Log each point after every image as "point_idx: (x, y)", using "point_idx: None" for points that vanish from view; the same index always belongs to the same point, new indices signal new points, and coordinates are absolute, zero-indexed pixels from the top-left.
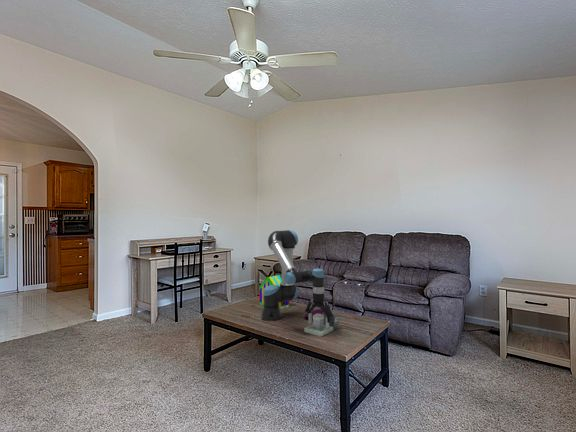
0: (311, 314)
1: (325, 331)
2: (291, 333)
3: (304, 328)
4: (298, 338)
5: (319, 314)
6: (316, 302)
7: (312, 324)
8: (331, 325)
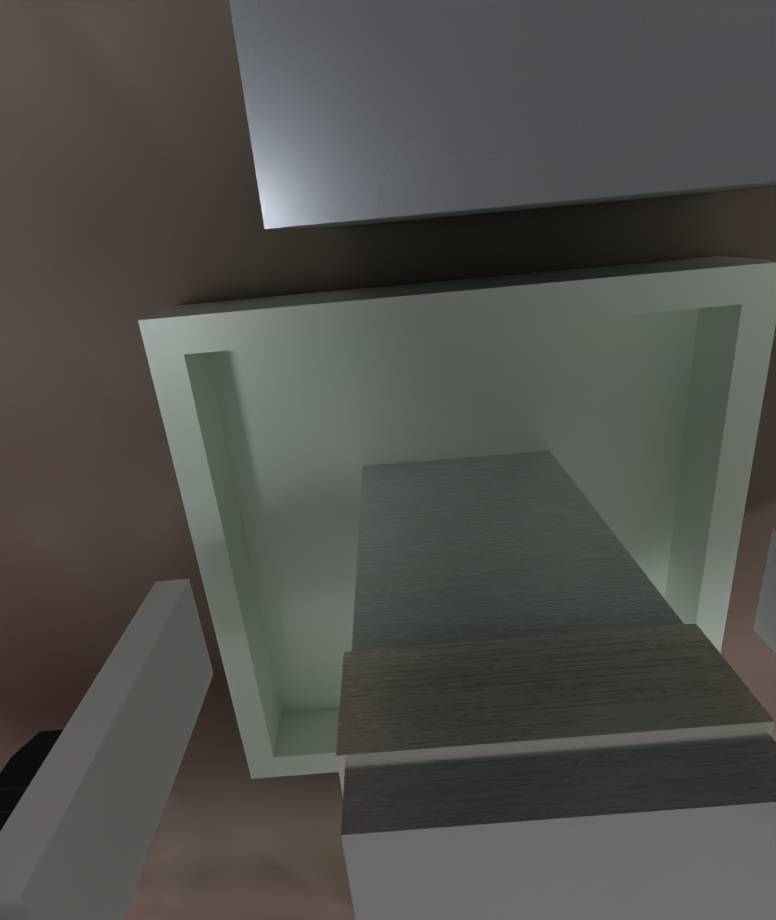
0: (73, 846)
1: (717, 614)
2: (173, 862)
3: (257, 771)
4: None
5: (576, 898)
6: None
7: (189, 510)
8: (687, 194)
